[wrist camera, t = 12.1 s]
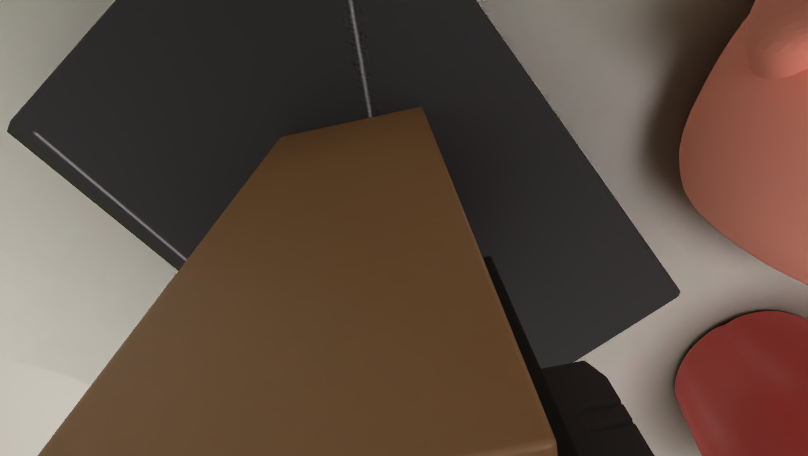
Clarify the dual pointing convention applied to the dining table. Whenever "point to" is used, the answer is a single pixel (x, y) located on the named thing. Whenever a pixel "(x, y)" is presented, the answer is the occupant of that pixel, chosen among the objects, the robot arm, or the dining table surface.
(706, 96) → the teapot
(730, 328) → the flower pot
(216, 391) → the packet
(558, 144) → the book
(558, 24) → the dining table surface
